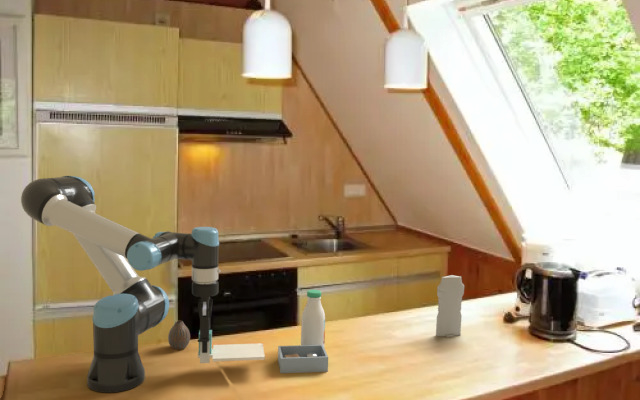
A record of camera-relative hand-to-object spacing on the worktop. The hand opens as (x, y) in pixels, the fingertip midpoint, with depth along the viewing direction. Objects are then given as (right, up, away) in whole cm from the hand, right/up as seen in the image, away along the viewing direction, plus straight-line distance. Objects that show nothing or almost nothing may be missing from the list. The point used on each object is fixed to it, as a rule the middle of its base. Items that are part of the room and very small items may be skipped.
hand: (205, 358), depth 166 cm
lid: (+7, +1, +1) cm, 8 cm away
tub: (+28, -4, +6) cm, 29 cm away
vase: (-12, -2, +19) cm, 23 cm away
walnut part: (+25, -4, +5) cm, 26 cm away
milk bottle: (+31, -3, +20) cm, 37 cm away
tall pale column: (+80, -2, +38) cm, 89 cm away
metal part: (+31, -4, +7) cm, 32 cm away
